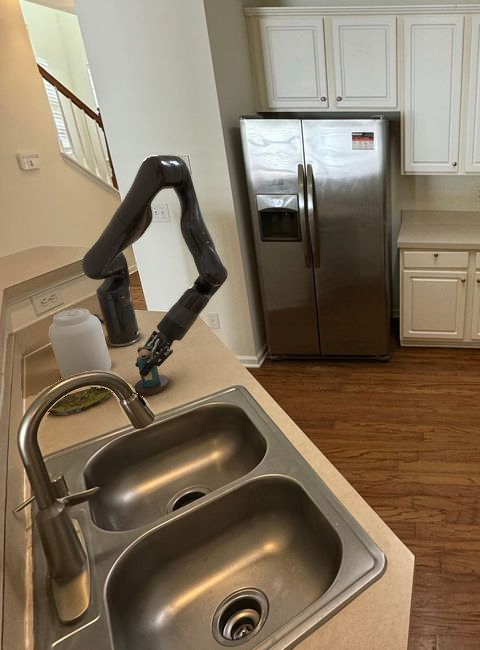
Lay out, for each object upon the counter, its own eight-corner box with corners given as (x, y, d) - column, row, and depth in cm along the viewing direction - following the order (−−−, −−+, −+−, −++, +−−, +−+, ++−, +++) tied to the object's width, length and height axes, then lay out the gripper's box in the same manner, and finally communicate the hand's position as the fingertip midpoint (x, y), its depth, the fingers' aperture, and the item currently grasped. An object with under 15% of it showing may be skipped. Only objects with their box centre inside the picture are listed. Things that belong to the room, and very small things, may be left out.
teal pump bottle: (144, 380, 125) (135, 346, 121) (161, 377, 127) (153, 343, 123) (141, 388, 121) (133, 354, 117) (159, 385, 123) (151, 351, 119)
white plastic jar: (106, 357, 139) (91, 300, 132) (117, 372, 131) (101, 313, 124) (59, 371, 131) (40, 312, 124) (66, 389, 123) (46, 327, 116)
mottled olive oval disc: (49, 425, 110) (117, 401, 119) (44, 412, 108) (113, 388, 117) (45, 405, 116) (110, 383, 125) (40, 391, 114) (106, 371, 123)
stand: (131, 387, 124) (130, 382, 124) (162, 375, 130) (162, 371, 130) (141, 400, 119) (140, 395, 118) (173, 387, 125) (172, 383, 124)
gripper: (160, 306, 126) (122, 355, 123) (173, 323, 116) (132, 377, 113) (183, 318, 132) (147, 365, 129) (197, 335, 121) (158, 386, 118)
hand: (140, 370), depth 121 cm, fingers closed on teal pump bottle, 4 cm apart
